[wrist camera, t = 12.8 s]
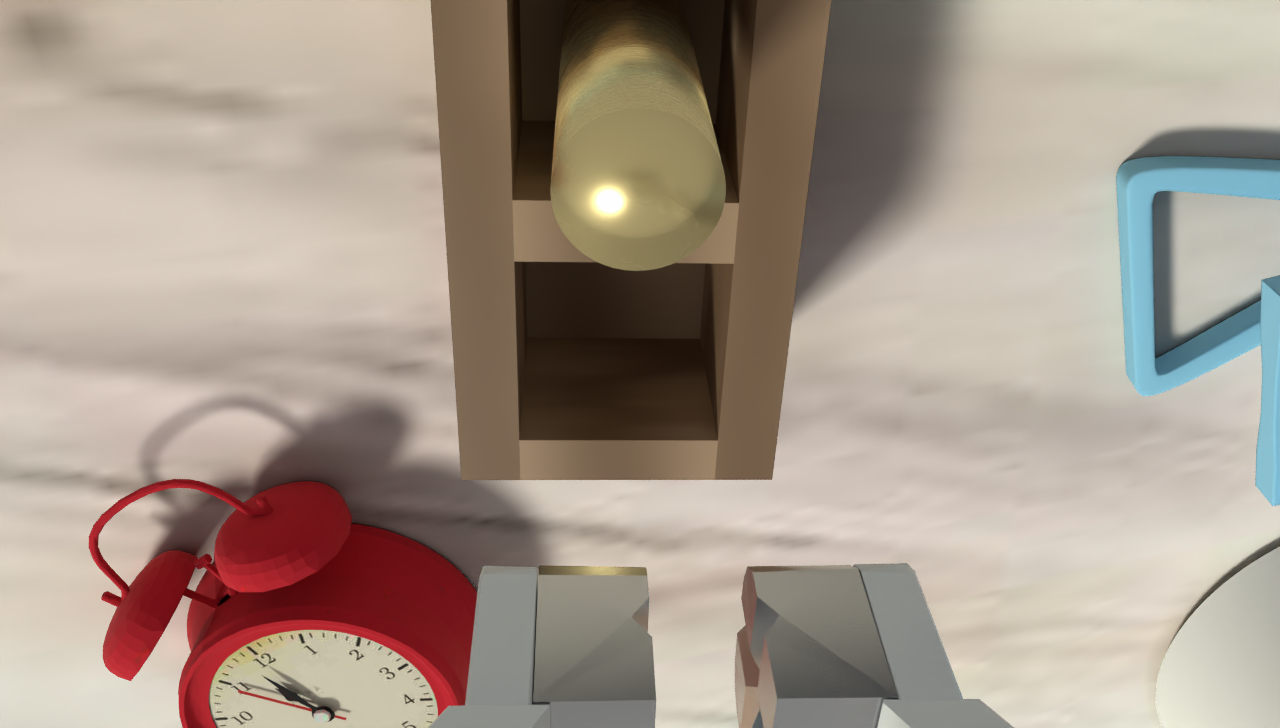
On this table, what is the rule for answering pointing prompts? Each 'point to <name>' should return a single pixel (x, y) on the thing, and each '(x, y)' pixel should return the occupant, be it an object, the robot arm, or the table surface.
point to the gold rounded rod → (633, 136)
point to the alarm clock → (299, 617)
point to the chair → (1264, 323)
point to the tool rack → (613, 298)
